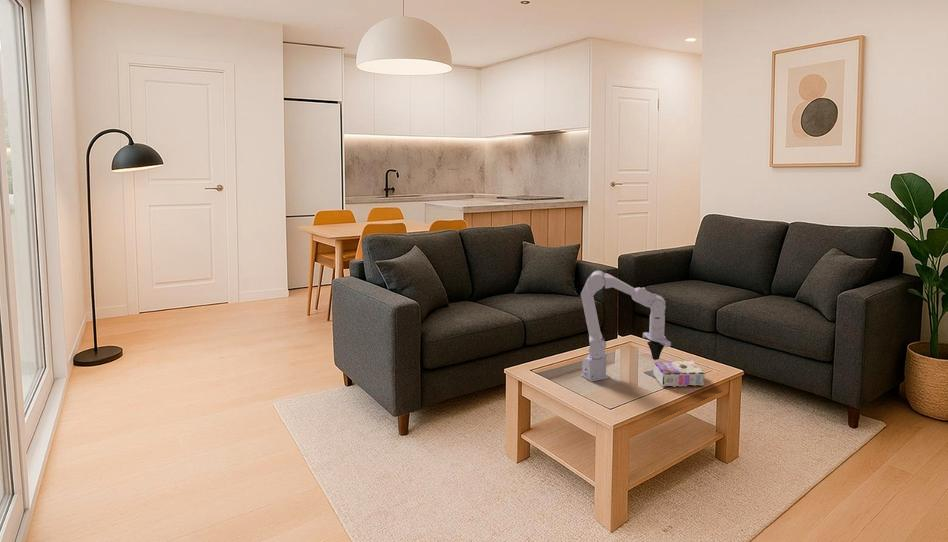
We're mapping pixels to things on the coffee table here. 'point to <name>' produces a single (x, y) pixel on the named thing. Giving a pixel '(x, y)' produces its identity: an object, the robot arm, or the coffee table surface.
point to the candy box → (678, 373)
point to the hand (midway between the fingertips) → (655, 359)
